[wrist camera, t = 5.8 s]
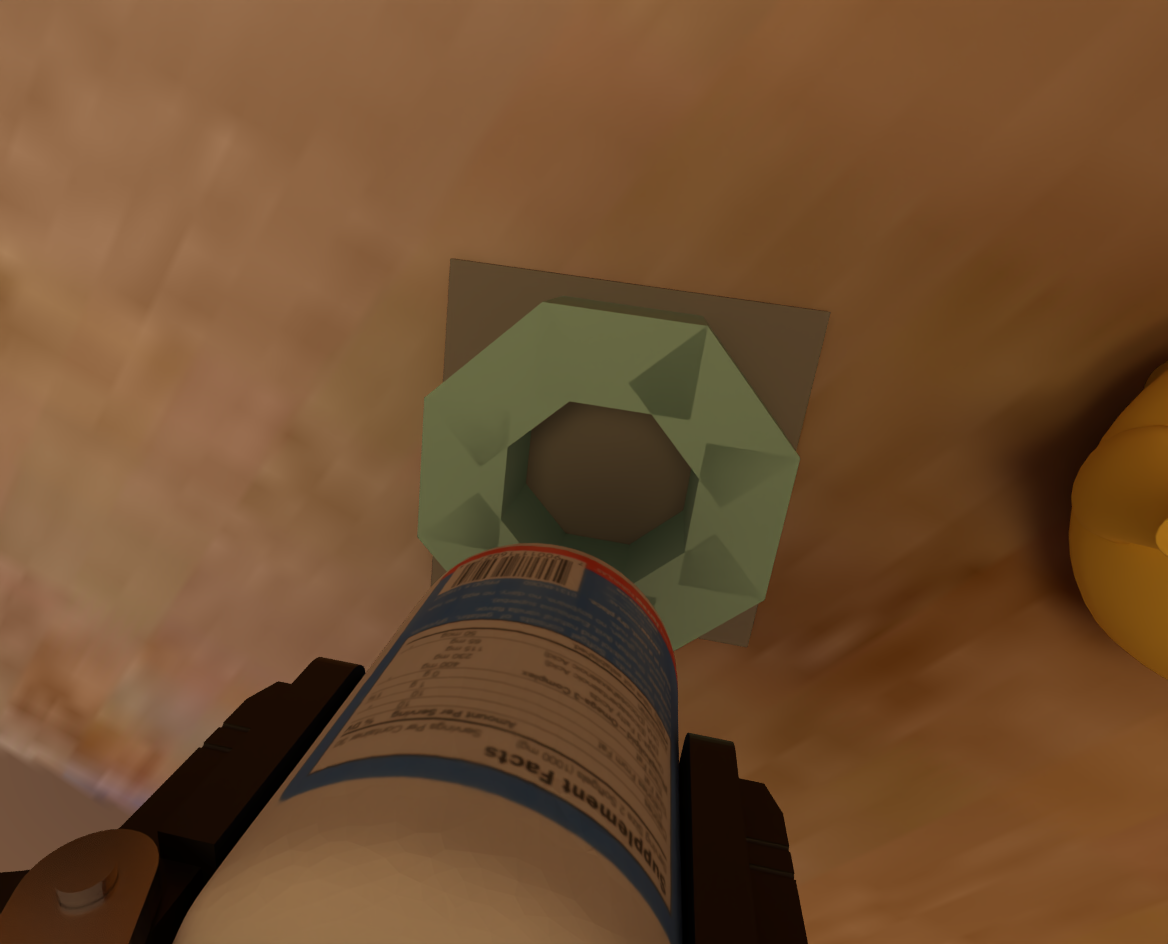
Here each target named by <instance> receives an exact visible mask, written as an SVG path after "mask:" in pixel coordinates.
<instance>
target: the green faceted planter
mask: <svg viewBox="0 0 1168 944" xmlns="http://www.w3.org/2000/svg"><path fill="white" fill-rule="evenodd" d="M569 401H571V402H577V403H583V404H590V405H596V406H602V407H609V408H615V409H621V410H627V411H634V412H640V413H646V414H652V416H653V417H654V419H655V420H656V421H657V423H658V424H659V425H660V427H661V428H662V429H663V431H664V432H665V433H666V435H667V436H668V438H669V439H670V440H671V442H672V443H673V444H674V446H675V447H676V448H677V450H678V451H679V452H680V454H681V455H682V457H683V458H684V459H685V461H686V462H687V463H688V465H689V466H690V467H691V473H690V478H689V484H688V489H687V494H686V499H685V504H684V509H683V511H681V512H680V513H678V514H677V515H675V516H674V517H672V518H670V519H669V520H667V521H666V522H664V523H663V524H661V525H659V526H658V527H656V528H655V529H653V530H652V531H650V532H648V533H647V534H645V535H644V536H642V537H641V538H639V539H637V540H636V541H634V542H633V543H631V544H630V545H628V544H623V543H617V542H611V541H606V540H600V539H595V538H589V537H583V536H578V535H572V534H566V533H565V532H564V531H563V529H562V528H561V527H560V526H559V524H558V523H557V522H556V521H555V519H554V518H553V517H552V516H551V514H550V513H549V512H548V511H547V509H546V508H545V507H544V506H543V504H542V503H541V502H540V501H539V499H538V498H537V497H536V496H535V494H534V493H533V492H532V491H531V489H530V488H529V487H528V486H527V484H526V476H527V467H528V458H529V448H530V439H531V430H532V429H533V428H534V427H536V426H537V425H538V424H540V423H541V422H542V421H544V420H545V419H546V418H548V417H549V416H550V415H552V414H553V413H555V412H556V411H557V410H559V409H560V408H561V407H563V406H564V405H565V404H567V403H568V402H569ZM799 461H800V457H799V455H798V454H797V452H796V451H795V449H794V448H793V446H792V444H791V443H790V441H789V440H788V438H787V437H786V435H785V433H784V432H783V430H782V429H781V428H780V426H779V425H778V423H777V422H776V420H775V419H774V418H773V416H772V415H771V413H770V412H769V410H768V409H767V408H766V406H765V405H764V403H763V402H762V400H761V399H760V398H759V396H758V395H757V393H756V392H755V390H754V389H753V388H752V386H751V385H750V383H749V382H748V380H747V379H746V378H745V376H744V375H743V373H742V372H741V370H740V369H739V367H738V366H737V365H736V363H735V362H734V360H733V359H732V357H731V356H730V355H729V353H728V352H727V350H726V349H725V347H724V346H723V345H722V343H721V342H720V340H719V339H718V337H717V336H716V335H715V333H714V332H713V330H712V329H711V327H710V326H709V325H708V323H707V322H706V320H705V319H704V317H703V316H699V315H693V314H686V313H679V312H672V311H665V310H658V309H651V308H644V307H637V306H630V305H623V304H616V303H609V302H602V301H595V300H589V299H582V298H575V297H568V296H561V297H557V298H554V299H550V300H547V301H543V302H542V303H540V304H539V305H538V306H537V307H535V308H534V309H533V310H532V311H531V312H529V313H528V314H527V315H526V316H524V317H523V318H522V319H521V320H519V321H518V322H517V323H516V324H515V325H513V326H512V327H511V328H510V329H508V330H507V331H506V332H505V333H503V334H502V335H501V336H500V337H499V338H497V339H496V340H495V341H494V342H492V343H491V344H490V345H489V346H487V347H486V348H485V349H484V350H483V351H481V352H480V353H479V354H478V355H476V356H475V357H474V358H473V359H471V360H470V361H469V362H468V363H467V364H465V365H464V366H463V367H462V368H460V369H459V370H458V371H457V372H455V373H454V374H453V375H452V376H451V377H449V378H448V379H447V380H446V381H444V382H443V383H442V384H441V385H439V386H438V387H437V388H436V389H435V390H433V391H432V392H431V393H430V394H428V395H427V396H426V397H424V415H423V435H422V455H421V474H420V494H419V514H418V534H417V537H418V538H419V540H420V541H421V542H422V543H423V544H424V545H425V547H426V548H427V549H428V550H429V551H430V553H431V554H432V555H433V556H434V557H435V558H436V560H437V561H438V562H439V563H440V564H441V566H442V567H443V568H444V569H445V570H446V571H448V570H450V569H451V568H452V567H454V566H455V565H457V564H458V563H460V562H461V561H463V560H465V559H466V558H468V557H471V556H473V555H475V554H477V553H480V552H483V551H486V550H489V549H492V548H496V547H500V546H506V545H512V544H519V543H542V544H552V545H558V546H563V547H567V548H572V549H575V550H578V551H581V552H584V553H587V554H589V555H592V556H594V557H596V558H598V559H600V560H602V561H603V562H605V563H607V564H609V565H610V566H612V567H613V568H615V569H616V570H618V571H619V572H621V573H622V574H623V575H624V576H625V577H627V578H628V579H629V580H630V581H631V582H632V583H633V584H635V585H636V586H637V587H638V588H639V589H640V591H641V592H642V593H643V594H644V595H645V596H646V598H647V599H648V600H649V601H650V603H651V604H652V606H653V607H654V608H655V610H656V612H657V613H658V615H659V617H660V618H661V620H662V622H663V624H664V626H665V628H666V631H667V633H668V636H669V638H670V641H671V645H672V648H673V651H675V650H677V649H678V648H680V647H682V646H684V645H686V644H687V643H689V642H691V641H693V640H694V639H696V638H698V637H700V636H701V635H703V634H705V633H707V632H709V631H710V630H712V629H714V628H716V627H717V626H719V625H721V624H723V623H725V622H726V621H728V620H730V619H732V618H733V617H735V616H737V615H739V614H741V613H742V612H744V611H746V610H748V609H749V608H751V607H753V606H755V605H757V604H758V603H760V602H762V601H764V600H765V596H766V592H767V588H768V584H769V580H770V576H771V572H772V568H773V564H774V560H775V556H776V552H777V548H778V544H779V540H780V536H781V533H782V529H783V525H784V521H785V517H786V513H787V509H788V505H789V501H790V497H791V493H792V489H793V485H794V481H795V477H796V473H797V469H798V465H799Z"/></svg>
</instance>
